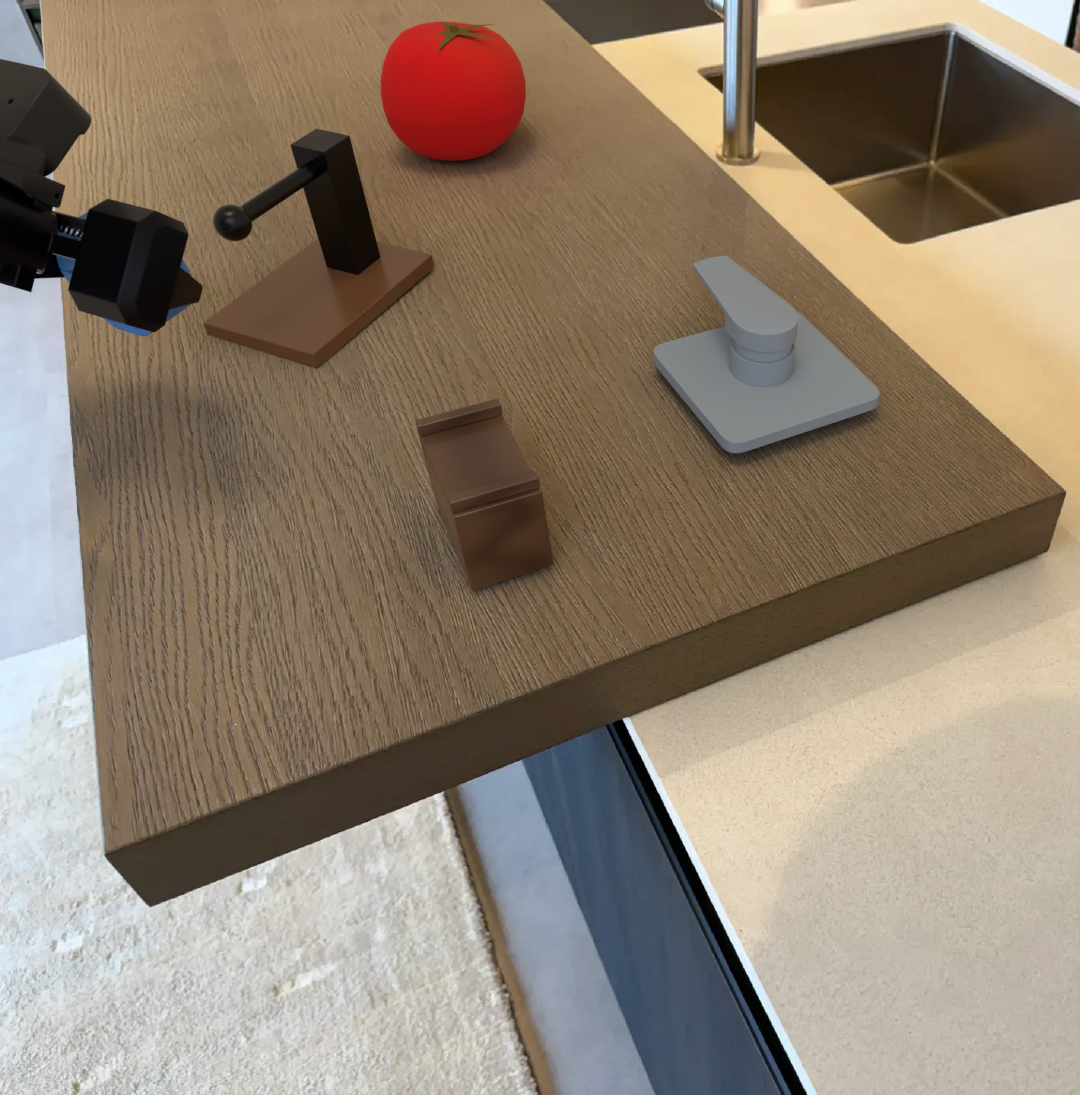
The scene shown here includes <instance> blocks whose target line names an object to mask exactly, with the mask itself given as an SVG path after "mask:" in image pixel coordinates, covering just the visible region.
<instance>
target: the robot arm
mask: <svg viewBox="0 0 1080 1095" xmlns="http://www.w3.org/2000/svg"><path fill="white" fill-rule="evenodd" d="M91 124H92V116H91V114H90V113H89V112H88V111H87V110H86V109H85V108H84V107H83V106H82V104H80V103H79V102H78V100H76V99H75V98H74V97H73V95H72V94H71V93H69V92H68V91H67V89H66V88H65V87H64V86H63V85H62V84H61V83H60V82H59V81H58V80H57V79H56V78H55V77H54V76H53V75H52V74H51V73H50V71H48V69H45V68H43V67H39V66H35V65H31V64H25V63H21V62H17V61H13V60H9V59H2V58H0V285H5V286H8V287H11V288H14V289H18V290H21V291H24V292H25V291H26V292H28V293H33V292H32V291H33V287H34V284H35V279H36V280H37V279H60V278H62V279H63V278H65V277H64V275H63V274H62V272H61V271H60V270H61V269H60V268H59V265H58V261H57V257H56V255H58V256H62V257H65V258H69V259H73V260H76V261H75V265H74V269H73V272H72V276H71V280H70V284H68V287H67V291H68V293H69V295H70V296H71V298H72V301H73V302H74V304H75V306H76V308H77V311H78V312H81V313H84V314H88V315H92V316H96V317H98V318H102V319H103V318H105V319H109V320H112V321H115V322H119V323H122V324H126V325H129V326H132V327H136V328H139V329H143V330H146V331H150V332H152V333H154V334H155V333H156V332H158V331H159V330H160V329H162V328H163V327H165V326H166V324H167V322H166V320H167V316H168V312H169V310H171V309H175V308H179V307H182V306H186V305H189V306H191V305H193V304H197V303H199V302H200V300H201V297H202V292H203V289H204V288H203V287H204V286H203V284H201V283H200V282H199V281H198V280H197V279H195V278H194V277H193V276H192V274H191V275H189V274H188V273H187V272H186V271H184V270H183V269H182V268H181V267H180V266H181V262H182V259H183V258H184V254H185V250H186V246H187V244H188V239H189V235H190V234H189V232H188V229H187V227H186V226H185V223H184V222H183V221H181V220H179V219H176V218H174V217H172V216H169V215H167V214H164V213H163V212H160V211H157V210H154V209H151V208H146V207H142V206H139V205H135V204H131V203H127V202H124V201H119V200H114V199H111V198H106V199H104V200H102V201H100V202H99V203H97V204H95V205H94V206H91V207H90V208H88V210H87V212H88V214H87V218H86V219H82V218H78V217H79V216H74V215H72V214H71V215H70V214H67V213H63V212H59V211H55V210H53V209H54V208H56V209H59V208H60V207H61V205H62V201H63V198H64V193H65V189H66V184H64V183H61V182H58V181H57V180H53V179H51V178H49V177H48V176H50V175H52V173H54V172H55V171H56V170H57V169H58V168H59V166H60V164H61V163H62V162H63V160H64V159H65V158H66V156H67V155H68V153H69V151H70V149H71V148H72V147H73V146H74V144H75V143H76V141H77V140H78V138H79V137H80V136H84V135H85V134H86V133H87V132H88V130H89V128H90V127H91ZM58 232H61V233H66V234H68V235H73V236H77V237H80V238H81V241H78V240H75V239H71V238H67V237H64V236H60V235H57V234H58ZM183 260H184V259H183ZM65 279H66V278H65ZM190 304H191V305H190ZM105 319H104V320H105Z"/></svg>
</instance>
